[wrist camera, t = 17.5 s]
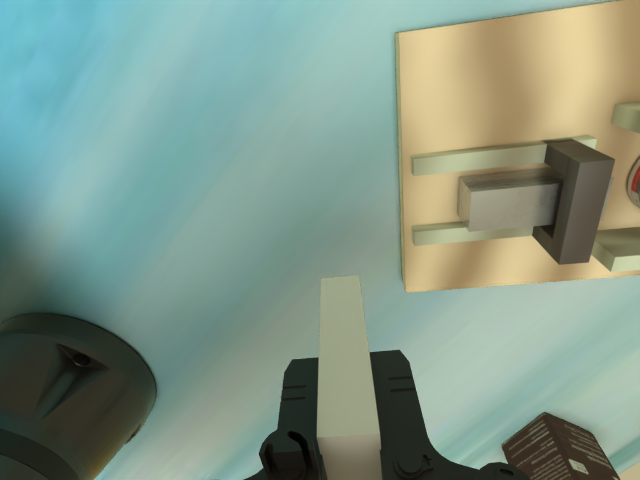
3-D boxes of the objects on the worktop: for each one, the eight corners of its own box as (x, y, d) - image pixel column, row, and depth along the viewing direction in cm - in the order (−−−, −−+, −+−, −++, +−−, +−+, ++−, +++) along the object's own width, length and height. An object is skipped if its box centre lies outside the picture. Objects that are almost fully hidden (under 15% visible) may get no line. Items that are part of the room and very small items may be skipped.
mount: (402, 279, 28) (415, 332, 23) (395, 32, 20) (412, 34, 15) (733, 253, 25) (827, 307, 20) (870, -37, 18) (1073, -62, 13)
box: (593, 432, 35) (649, 521, 29) (546, 463, 38) (587, 552, 32) (543, 410, 34) (590, 498, 28) (498, 444, 37) (531, 532, 30)
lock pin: (457, 213, 23) (468, 232, 21) (458, 176, 22) (471, 192, 20) (578, 202, 22) (602, 220, 20) (586, 163, 21) (613, 177, 19)
